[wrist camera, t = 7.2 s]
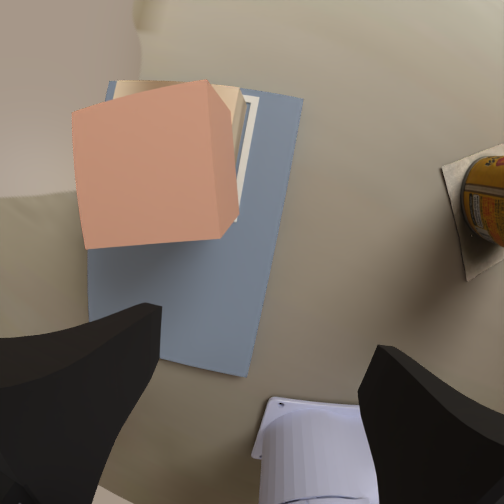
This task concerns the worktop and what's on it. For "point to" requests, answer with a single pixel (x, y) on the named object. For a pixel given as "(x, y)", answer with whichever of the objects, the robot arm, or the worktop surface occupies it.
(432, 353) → the worktop surface
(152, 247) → the board
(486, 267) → the condiment
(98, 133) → the terracotta block
